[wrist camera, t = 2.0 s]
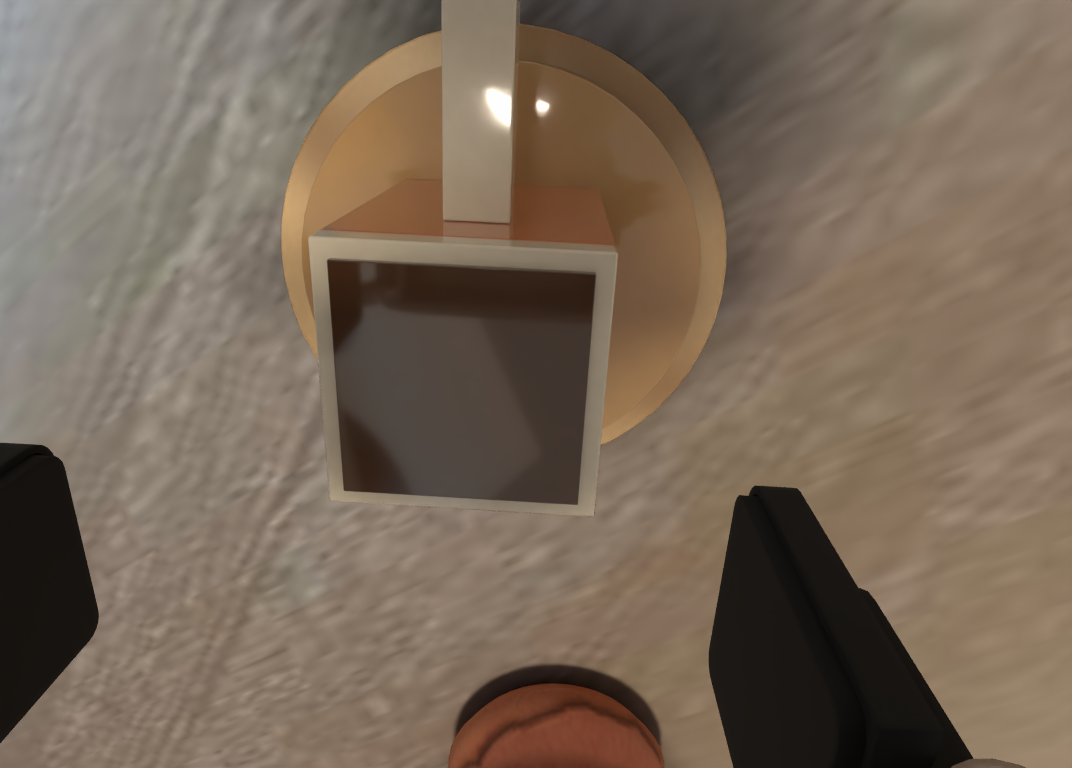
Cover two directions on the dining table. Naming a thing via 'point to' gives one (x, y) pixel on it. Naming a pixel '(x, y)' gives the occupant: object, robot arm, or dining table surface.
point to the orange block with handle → (491, 278)
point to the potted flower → (554, 732)
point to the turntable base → (580, 62)
